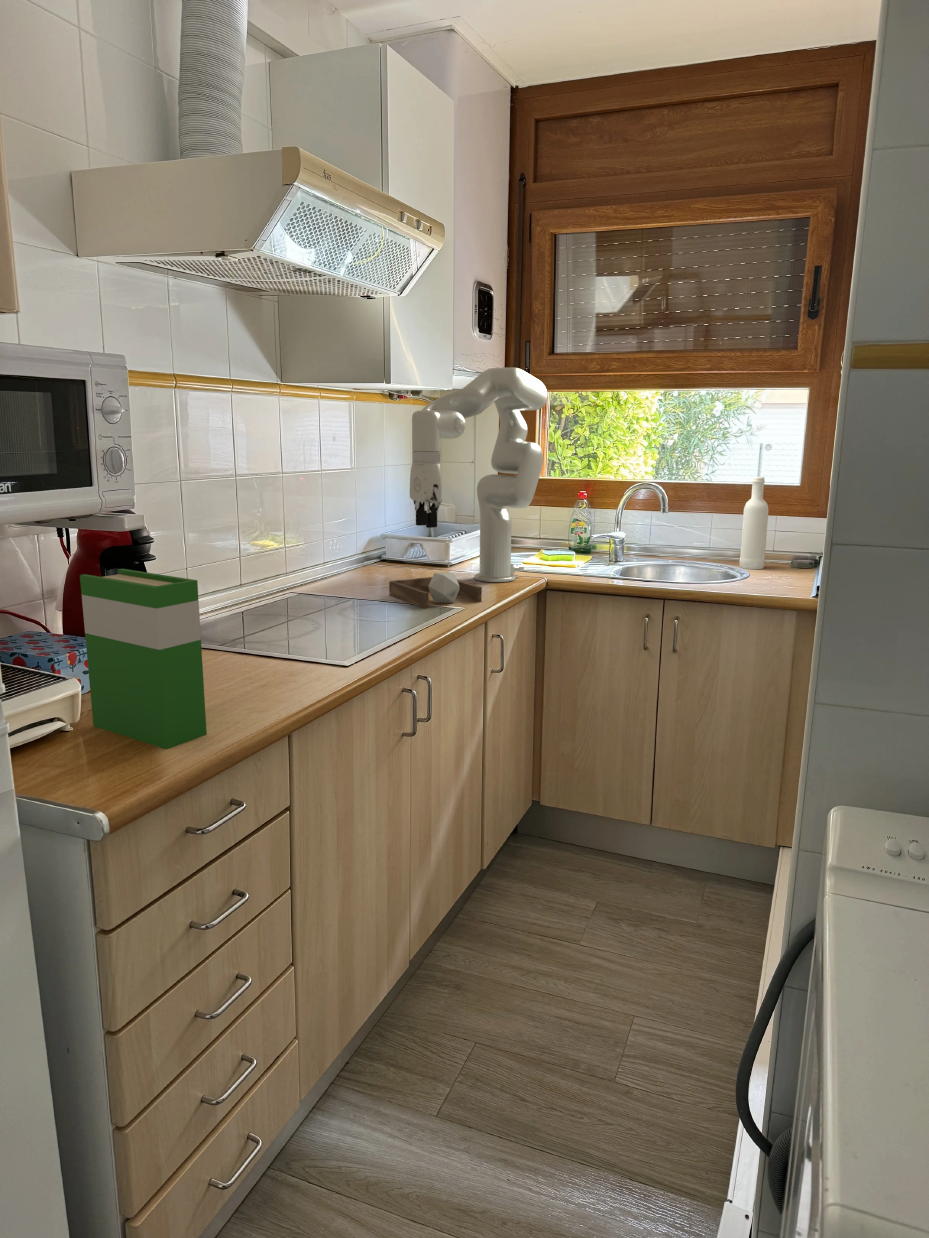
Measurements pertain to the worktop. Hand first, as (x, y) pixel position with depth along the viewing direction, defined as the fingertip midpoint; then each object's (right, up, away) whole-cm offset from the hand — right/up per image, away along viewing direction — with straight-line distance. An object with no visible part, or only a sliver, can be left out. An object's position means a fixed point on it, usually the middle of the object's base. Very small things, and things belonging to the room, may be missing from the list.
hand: (426, 525), depth 238 cm
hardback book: (-38, -43, -102) cm, 117 cm away
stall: (+2, -20, +1) cm, 20 cm away
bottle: (+106, -8, +55) cm, 120 cm away
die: (+5, -21, -4) cm, 22 cm away
